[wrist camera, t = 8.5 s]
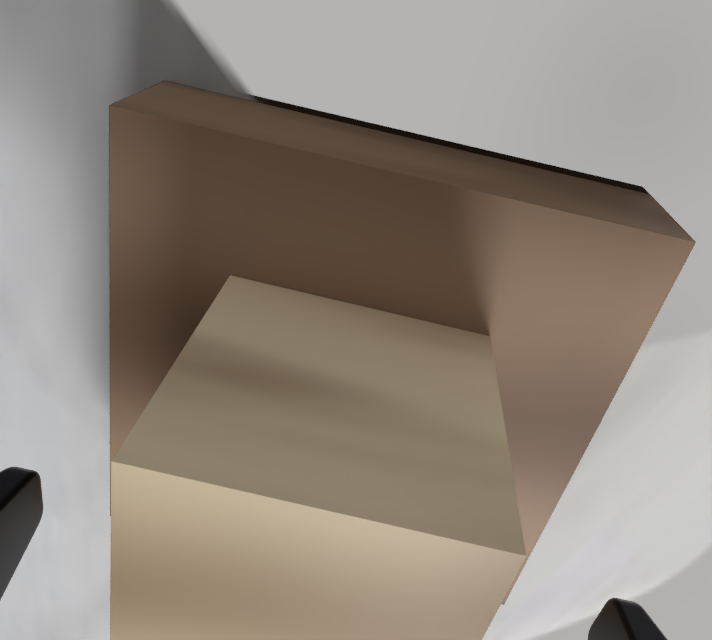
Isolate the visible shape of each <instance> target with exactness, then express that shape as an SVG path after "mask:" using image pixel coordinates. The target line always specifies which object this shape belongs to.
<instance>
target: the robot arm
mask: <svg viewBox="0 0 712 640" xmlns="http://www.w3.org/2000/svg"><path fill="white" fill-rule="evenodd" d="M42 513H43V501H42V490H41V480H40V476H39V474H38V473H37V472H36V471H33V470H28V469H23V468H19V467H10V468H7V469H5V470H3V471H1V472H0V600H1V598H2V596H3V594H4V592H5V590H6V588H7V586H8V584H9V582H10V580H11V578H12V576H13V574H14V572H15V570H16V568H17V566H18V564H19V562H20V560H21V558H22V556H23V554H24V552H25V550H26V548H27V546H28V544H29V542H30V540H31V538H32V536H33V534H34V533H35V531H36V529H37V527H38V525H39V522H40V520H41V517H42ZM588 640H667V638H666V637H665V636H664V635H663V633H662V632H661V631H660V629H659V628H658V627H657V626H656V624H655V623H654V622H653V621H652V619H651V618H650V617H649V615H648V614H647V613H646V612H645V610H644V609H643V608H642V607H641V606H640V605H639V604H637V603H635V602H632V601H627V600H623V599H618V598H612V599H610V600H608V601H607V603H606V604H605V606H604V607H603V609H602V610H601V612H600V613H599V615H598V617H597V618H596V619H595V621H594V623H593V624H592V626H591V628H590V630H589V634H588Z"/></svg>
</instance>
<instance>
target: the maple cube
mask: <svg viewBox="0 0 712 640" xmlns="http://www.w3.org/2000/svg"><path fill="white" fill-rule="evenodd" d="M525 558H526V551H525V545H524V539H523V533H522V527H521V521H520V514H519V508H518V502H517V496H516V490H515V484H514V478H513V472H512V466H511V460H510V454H509V447H508V441H507V435H506V429H505V423H504V417H503V411H502V405H501V399H500V393H499V387H498V380H497V374H496V368H495V362H494V356H493V350H492V344H491V338H490V336H487V335H483V334H478V333H474V332H470V331H466V330H461V329H457V328H453V327H449V326H444V325H440V324H436V323H432V322H427V321H423V320H419V319H415V318H410V317H406V316H402V315H398V314H393V313H389V312H385V311H380V310H376V309H372V308H368V307H363V306H359V305H355V304H351V303H346V302H342V301H338V300H334V299H329V298H325V297H321V296H317V295H312V294H308V293H304V292H300V291H295V290H291V289H287V288H283V287H278V286H274V285H270V284H265V283H261V282H257V281H253V280H248V279H244V278H240V277H236V276H231V275H230V276H229V278H228V279H227V281H226V282H225V284H224V286H223V287H222V289H221V290H220V292H219V293H218V295H217V297H216V298H215V300H214V301H213V303H212V304H211V306H210V307H209V309H208V311H207V312H206V314H205V315H204V317H203V318H202V320H201V322H200V323H199V325H198V326H197V328H196V329H195V331H194V333H193V334H192V336H191V337H190V339H189V340H188V342H187V343H186V345H185V347H184V348H183V350H182V351H181V353H180V354H179V356H178V358H177V359H176V361H175V362H174V364H173V365H172V367H171V369H170V370H169V372H168V373H167V375H166V376H165V378H164V379H163V381H162V383H161V384H160V386H159V387H158V389H157V390H156V392H155V394H154V395H153V397H152V398H151V400H150V401H149V403H148V405H147V406H146V408H145V409H144V411H143V412H142V414H141V415H140V417H139V419H138V420H137V422H136V423H135V425H134V426H133V428H132V430H131V431H130V433H129V434H128V436H127V437H126V439H125V441H124V442H123V444H122V445H121V447H120V448H119V450H118V451H117V453H116V455H115V456H114V458H113V459H112V461H111V597H110V640H482V638H483V636H484V634H485V633H486V631H487V629H488V627H489V625H490V623H491V621H492V620H493V618H494V616H495V614H496V612H497V610H498V608H499V606H500V605H501V603H502V601H503V599H504V597H505V595H506V593H507V592H508V590H509V588H510V586H511V584H512V582H513V580H514V578H515V577H516V575H517V573H518V571H519V569H520V567H521V565H522V563H523V562H524V560H525Z"/></svg>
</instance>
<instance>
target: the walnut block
mask: <svg viewBox="0 0 712 640" xmlns="http://www.w3.org/2000/svg"><path fill="white" fill-rule="evenodd" d="M251 96H252V97H253V99H254V100H255V101H256V102H254V101H249V100H245V99H241V98H237V97H232V96H228V95H224V94H220V93H215V92H211V91H207V90H203V89H198V88H194V87H190V86H185V85H181V84H177V83H173V82H168V81H163V82H161V83H159V84H156V85H154V86H152V87H150V88H147V89H145V90H143V91H140V92H138V93H136V94H134V95H131V96H129V97H127V98H125V99H122V100H120V101H118V102H115V103H113V104H111V105H109V226H110V516H111V461H112V459H113V458H114V456H115V455H116V453H117V451H118V450H119V448H120V447H121V445H122V444H123V442H124V441H125V439H126V437H127V436H128V434H129V433H130V431H131V430H132V428H133V426H134V425H135V423H136V422H137V420H138V419H139V417H140V415H141V414H142V412H143V411H144V409H145V408H146V406H147V405H148V403H149V401H150V400H151V398H152V397H153V395H154V394H155V392H156V390H157V389H158V387H159V386H160V384H161V383H162V381H163V379H164V378H165V376H166V375H167V373H168V372H169V370H170V369H171V367H172V365H173V364H174V362H175V361H176V359H177V358H178V356H179V354H180V353H181V351H182V350H183V348H184V347H185V345H186V343H187V342H188V340H189V339H190V337H191V336H192V334H193V333H194V331H195V329H196V328H197V326H198V325H199V323H200V322H201V320H202V318H203V317H204V315H205V314H206V312H207V311H208V309H209V307H210V306H211V304H212V303H213V301H214V300H215V298H216V297H217V295H218V293H219V292H220V290H221V289H222V287H223V286H224V284H225V282H226V281H227V279H228V278H229V276H230V275H231V276H236V277H240V278H244V279H248V280H253V281H257V282H261V283H265V284H270V285H274V286H278V287H283V288H287V289H291V290H295V291H300V292H304V293H308V294H312V295H317V296H321V297H325V298H329V299H334V300H338V301H342V302H346V303H351V304H355V305H359V306H363V307H368V308H372V309H376V310H380V311H385V312H389V313H393V314H398V315H402V316H406V317H410V318H415V319H419V320H423V321H427V322H432V323H436V324H440V325H444V326H449V327H453V328H457V329H461V330H466V331H470V332H474V333H478V334H483V335H487V336H490V338H491V344H492V350H493V356H494V362H495V368H496V374H497V380H498V387H499V393H500V399H501V405H502V411H503V417H504V423H505V429H506V435H507V441H508V447H509V454H510V460H511V466H512V472H513V478H514V484H515V490H516V496H517V502H518V508H519V514H520V521H521V527H522V533H523V539H524V545H525V551H526V558H525V560H524V562H523V563H522V565H521V567H520V569H519V571H518V573H517V575H516V577H515V578H514V580H513V582H512V584H511V586H510V588H509V590H508V592H507V593H506V595H505V597H504V599H503V601H502V603H501V604H503V605H504V603H505V601H506V599H507V598H508V596H509V594H510V592H511V590H512V588H513V586H514V584H515V582H516V581H517V579H518V577H519V575H520V573H521V571H522V569H523V567H524V566H525V564H526V562H527V560H528V558H529V556H530V554H531V552H532V550H533V549H534V547H535V545H536V543H537V541H538V539H539V537H540V535H541V533H542V532H543V530H544V528H545V526H546V524H547V522H548V520H549V518H550V516H551V515H552V513H553V511H554V509H555V507H556V505H557V503H558V501H559V499H560V498H561V496H562V494H563V492H564V490H565V488H566V486H567V484H568V483H569V481H570V479H571V477H572V475H573V473H574V471H575V469H576V467H577V466H578V464H579V462H580V460H581V458H582V456H583V454H584V452H585V450H586V449H587V447H588V445H589V443H590V441H591V439H592V437H593V435H594V433H595V432H596V430H597V428H598V426H599V424H600V422H601V420H602V418H603V416H604V415H605V413H606V411H607V409H608V407H609V405H610V403H611V401H612V399H613V398H614V396H615V394H616V392H617V390H618V388H619V386H620V384H621V383H622V381H623V379H624V377H625V375H626V373H627V371H628V369H629V367H630V366H631V364H632V362H633V360H634V358H635V356H636V354H637V352H638V350H639V349H640V347H641V345H642V343H643V341H644V339H645V337H646V335H647V333H648V331H649V330H650V328H651V326H652V324H653V322H654V320H655V318H656V316H657V315H658V313H659V311H660V309H661V307H662V305H663V303H664V301H665V299H666V298H667V296H668V294H669V292H670V290H671V288H672V286H673V284H674V282H675V280H676V279H677V276H678V275H679V273H680V271H681V269H682V267H683V266H684V264H685V262H686V260H687V258H688V256H689V254H690V252H691V250H692V249H693V247H694V245H695V243H696V242H695V241H694V240H693V239H692V238H691V237H690V236H689V235H688V234H687V233H686V232H685V230H684V229H683V228H682V227H681V226H680V225H679V224H678V223H677V222H676V221H675V220H674V219H673V218H672V217H671V216H670V215H669V214H668V213H667V212H666V211H665V210H664V208H663V207H662V206H661V205H659V203H658V202H657V201H656V200H655V199H654V198H653V197H652V196H651V195H650V194H649V193H648V192H647V191H646V190H645V189H644V188H643V187H642V186H638V185H634V184H629V183H625V182H621V181H616V180H612V179H608V178H604V177H599V176H595V175H591V174H587V173H582V172H578V171H574V170H569V169H566V168H561V167H557V166H553V165H548V164H544V163H540V162H536V161H531V160H527V159H523V158H519V157H514V156H510V155H506V154H502V153H497V152H493V151H489V150H484V149H480V148H476V147H471V146H467V145H463V144H459V143H455V142H450V141H446V140H442V139H438V138H433V137H429V136H425V135H420V134H416V133H412V132H408V131H403V130H399V129H395V128H391V127H386V126H382V125H378V124H374V123H369V122H365V121H361V120H357V119H352V118H348V117H344V116H340V115H335V114H331V113H327V112H322V111H318V110H314V109H309V108H305V107H301V106H297V105H293V104H288V103H284V102H280V101H276V100H271V99H267V98H263V97H258V96H254V95H251Z"/></svg>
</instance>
